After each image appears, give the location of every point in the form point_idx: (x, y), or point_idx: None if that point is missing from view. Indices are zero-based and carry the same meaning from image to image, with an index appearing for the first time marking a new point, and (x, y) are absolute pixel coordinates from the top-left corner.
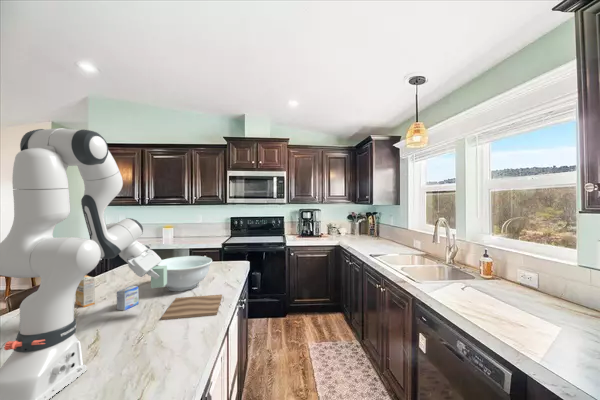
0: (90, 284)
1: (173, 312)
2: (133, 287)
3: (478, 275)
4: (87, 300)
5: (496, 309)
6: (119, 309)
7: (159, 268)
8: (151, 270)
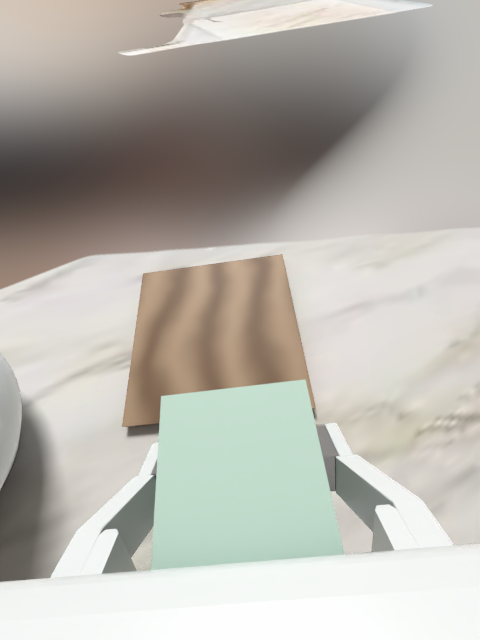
0: None
1: (275, 378)
2: None
3: (173, 10)
4: None
5: (282, 13)
6: None
7: (304, 437)
8: (434, 525)
